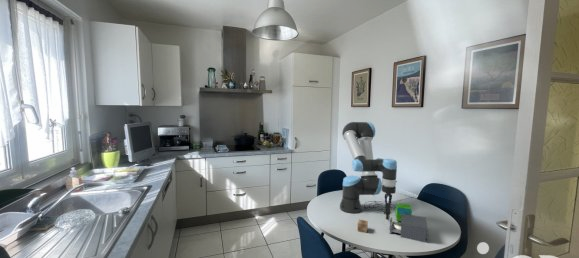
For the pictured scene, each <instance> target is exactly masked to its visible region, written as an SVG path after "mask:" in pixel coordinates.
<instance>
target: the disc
mask: <svg viewBox="0 0 579 258" xmlns="http://www.w3.org/2000/svg"><path fill="white" fill-rule="evenodd" d="M393 222H394V223H393V228H394V229H396V230H400V231H401V221H393Z"/></svg>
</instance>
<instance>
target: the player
mask: <svg viewBox="0 0 579 258" xmlns="http://www.w3.org/2000/svg"><path fill="white" fill-rule="evenodd" d="M400 222H401V234H400V238H404V239H407V240H413V241H417V242H421V243H426V244H427V243H428V237H429V227H428V222H427V219H426V217H425V216H418V215H407V214H402V213H401V221H400Z"/></svg>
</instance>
